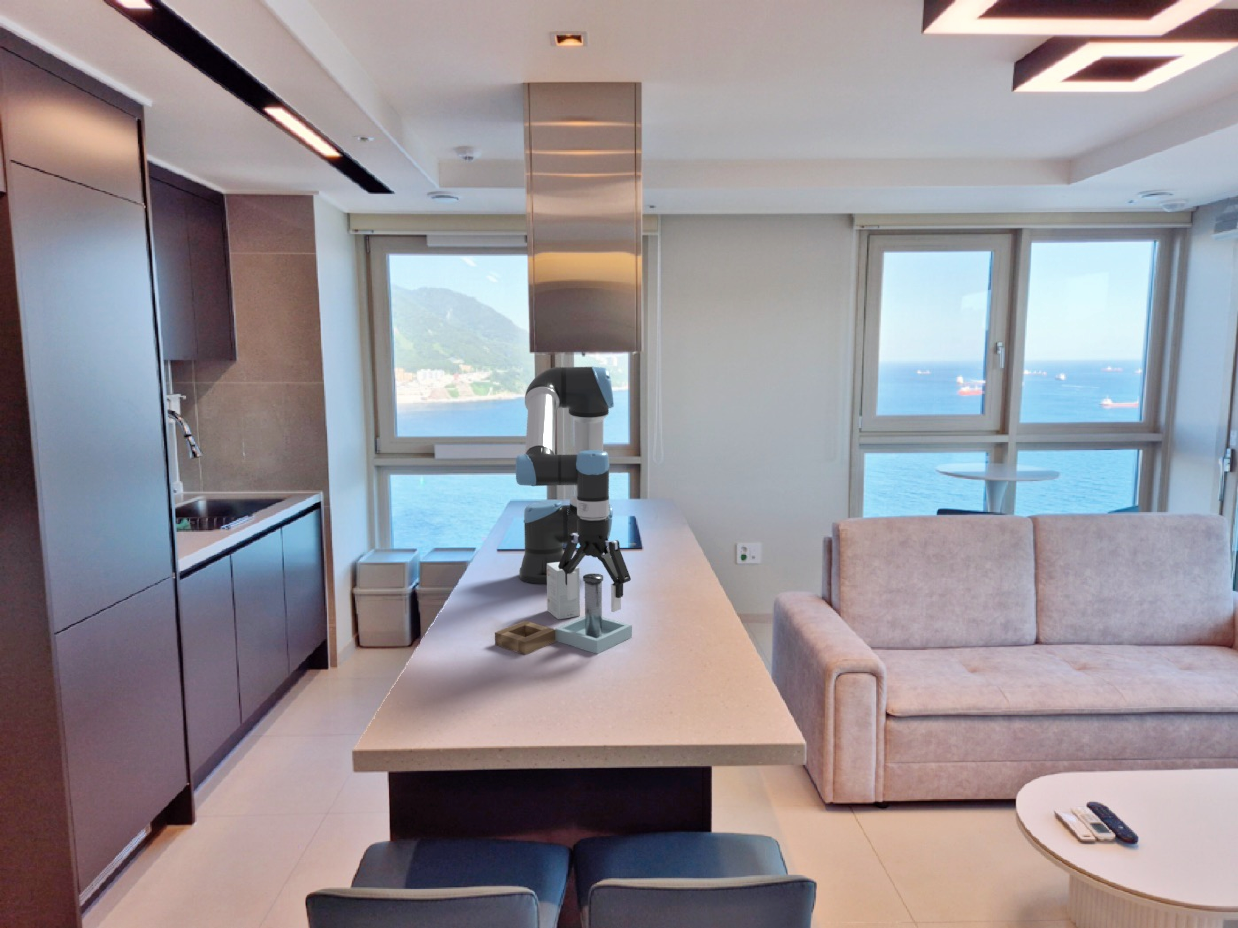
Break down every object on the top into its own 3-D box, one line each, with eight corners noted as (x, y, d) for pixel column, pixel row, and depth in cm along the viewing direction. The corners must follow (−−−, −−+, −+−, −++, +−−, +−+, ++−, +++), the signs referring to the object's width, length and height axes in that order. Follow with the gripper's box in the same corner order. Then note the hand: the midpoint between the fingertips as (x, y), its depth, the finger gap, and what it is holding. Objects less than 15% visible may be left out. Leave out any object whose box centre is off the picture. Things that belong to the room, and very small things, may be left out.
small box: (580, 616, 196) (580, 567, 194) (557, 620, 193) (556, 570, 191) (568, 607, 203) (568, 560, 201) (546, 610, 200) (545, 563, 199)
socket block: (495, 644, 177) (494, 632, 176) (525, 632, 184) (525, 620, 184) (525, 654, 171) (525, 642, 170) (555, 641, 178) (555, 629, 178)
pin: (579, 637, 180) (578, 577, 178) (592, 631, 183) (591, 572, 181) (594, 641, 177) (594, 580, 175) (607, 635, 181) (607, 575, 178)
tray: (555, 640, 179) (555, 628, 179) (590, 625, 189) (590, 613, 189) (597, 653, 171) (597, 641, 171) (631, 637, 181) (631, 625, 181)
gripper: (543, 512, 181) (544, 598, 184) (625, 527, 165) (625, 619, 168) (564, 507, 187) (565, 590, 190) (645, 521, 171) (645, 610, 174)
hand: (593, 604), depth 179 cm, fingers open, 13 cm apart
